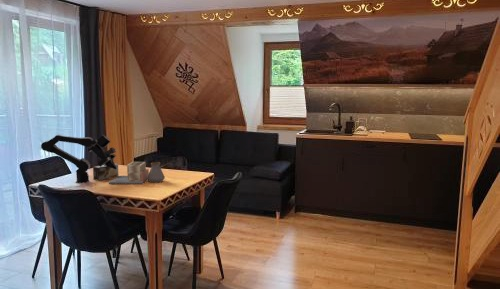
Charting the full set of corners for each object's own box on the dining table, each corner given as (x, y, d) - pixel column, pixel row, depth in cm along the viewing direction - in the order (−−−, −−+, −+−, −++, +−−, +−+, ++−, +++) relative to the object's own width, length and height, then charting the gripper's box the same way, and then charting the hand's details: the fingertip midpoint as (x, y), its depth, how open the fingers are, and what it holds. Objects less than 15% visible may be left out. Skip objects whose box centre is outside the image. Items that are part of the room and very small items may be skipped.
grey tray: (108, 184, 246) (108, 173, 245) (117, 178, 264) (117, 168, 263) (142, 184, 246) (142, 173, 245) (149, 178, 264) (149, 168, 263)
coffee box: (112, 163, 272) (92, 166, 258) (118, 164, 268) (98, 167, 255) (113, 175, 273) (93, 179, 260) (118, 176, 269) (98, 180, 256)
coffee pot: (143, 182, 253) (143, 160, 251) (157, 179, 262) (156, 157, 260) (165, 186, 240) (164, 163, 238) (178, 183, 250) (178, 161, 248)
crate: (127, 181, 249) (127, 165, 247) (133, 177, 261) (132, 161, 259) (141, 181, 249) (140, 165, 247) (146, 177, 261) (145, 161, 259)
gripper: (102, 145, 242) (120, 163, 244) (112, 142, 260) (128, 158, 262) (90, 157, 243) (108, 174, 244) (101, 153, 261) (117, 169, 263)
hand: (116, 168), depth 253 cm, fingers closed
